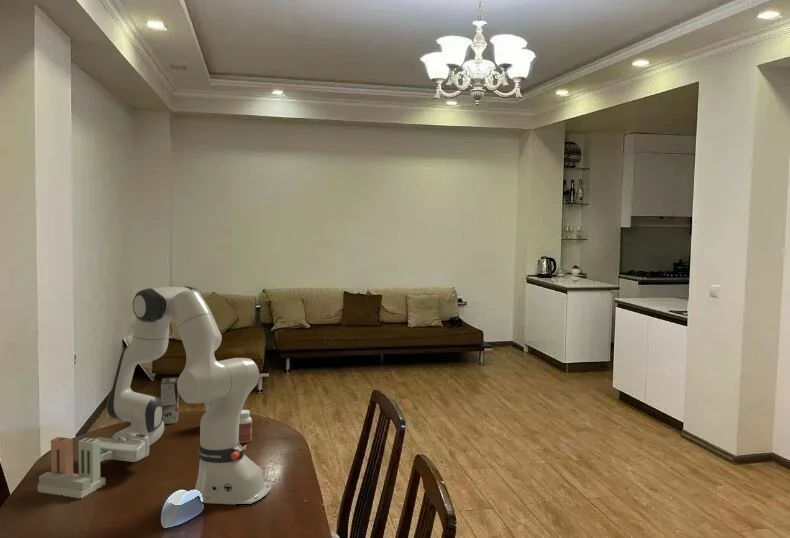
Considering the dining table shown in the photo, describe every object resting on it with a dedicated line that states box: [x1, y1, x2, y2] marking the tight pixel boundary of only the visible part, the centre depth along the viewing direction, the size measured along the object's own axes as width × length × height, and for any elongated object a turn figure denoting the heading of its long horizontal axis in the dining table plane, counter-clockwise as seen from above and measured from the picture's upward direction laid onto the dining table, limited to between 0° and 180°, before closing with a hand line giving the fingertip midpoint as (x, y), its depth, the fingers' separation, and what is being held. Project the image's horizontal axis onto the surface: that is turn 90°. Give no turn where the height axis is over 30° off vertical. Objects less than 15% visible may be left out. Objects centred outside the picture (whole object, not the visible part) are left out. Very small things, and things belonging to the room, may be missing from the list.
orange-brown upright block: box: [50, 436, 74, 476], centre depth 186 cm, size 5×3×12 cm, turn 76°
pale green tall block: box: [77, 437, 101, 483], centre depth 186 cm, size 5×3×12 cm, turn 76°
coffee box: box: [160, 376, 179, 425], centre depth 247 cm, size 9×6×16 cm
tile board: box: [37, 471, 107, 499], centre depth 185 cm, size 15×10×4 cm, turn 76°
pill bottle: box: [239, 409, 253, 443], centre depth 226 cm, size 6×6×11 cm
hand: (95, 458), depth 189 cm, fingers closed
